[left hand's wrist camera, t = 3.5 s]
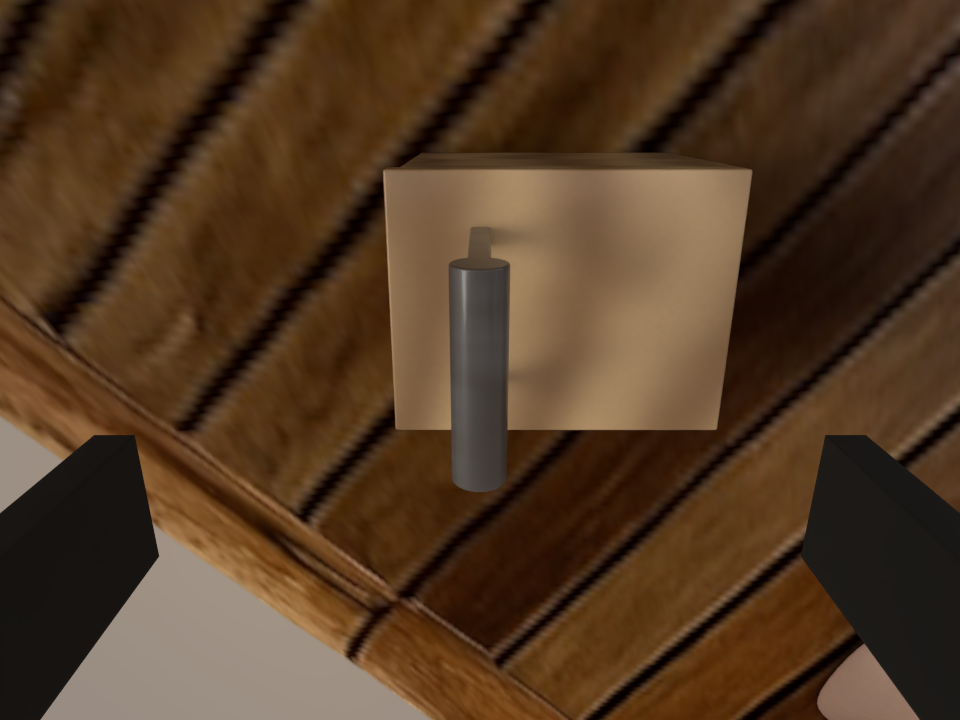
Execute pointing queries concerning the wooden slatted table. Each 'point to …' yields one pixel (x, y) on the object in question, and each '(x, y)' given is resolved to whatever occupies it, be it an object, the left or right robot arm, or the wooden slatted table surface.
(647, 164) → the chest
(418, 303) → the lid
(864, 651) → the anatomical model
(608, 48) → the wooden slatted table surface
